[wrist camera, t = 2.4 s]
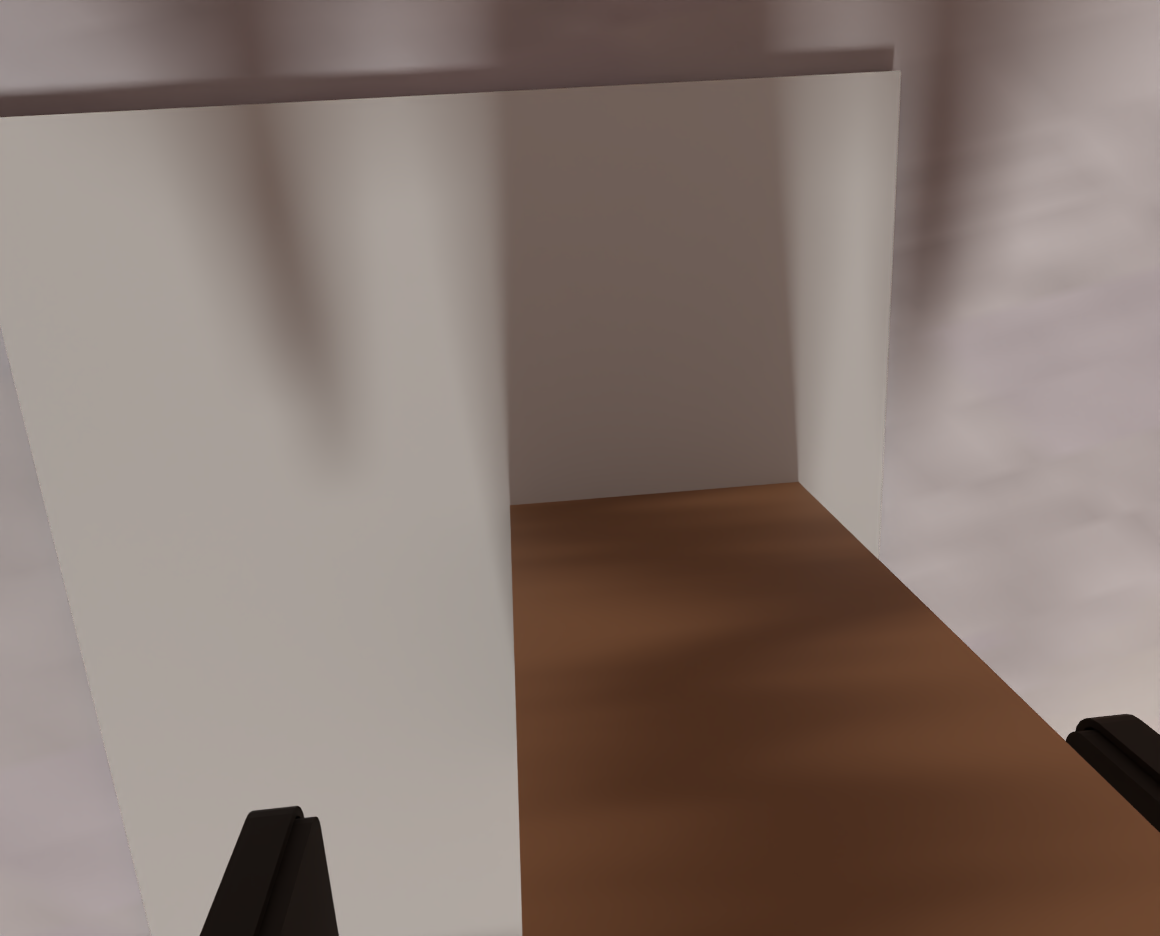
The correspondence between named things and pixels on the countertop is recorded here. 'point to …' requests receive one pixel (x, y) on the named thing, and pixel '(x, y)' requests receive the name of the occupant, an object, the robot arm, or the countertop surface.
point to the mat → (410, 423)
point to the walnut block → (784, 742)
